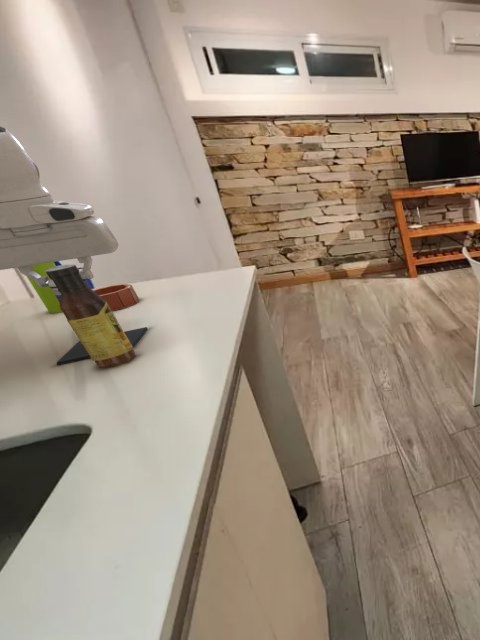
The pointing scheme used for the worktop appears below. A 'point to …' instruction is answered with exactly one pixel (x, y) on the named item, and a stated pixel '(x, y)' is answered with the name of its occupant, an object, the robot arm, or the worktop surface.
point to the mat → (80, 352)
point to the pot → (118, 296)
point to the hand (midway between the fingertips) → (67, 282)
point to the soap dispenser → (46, 289)
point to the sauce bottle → (91, 318)
